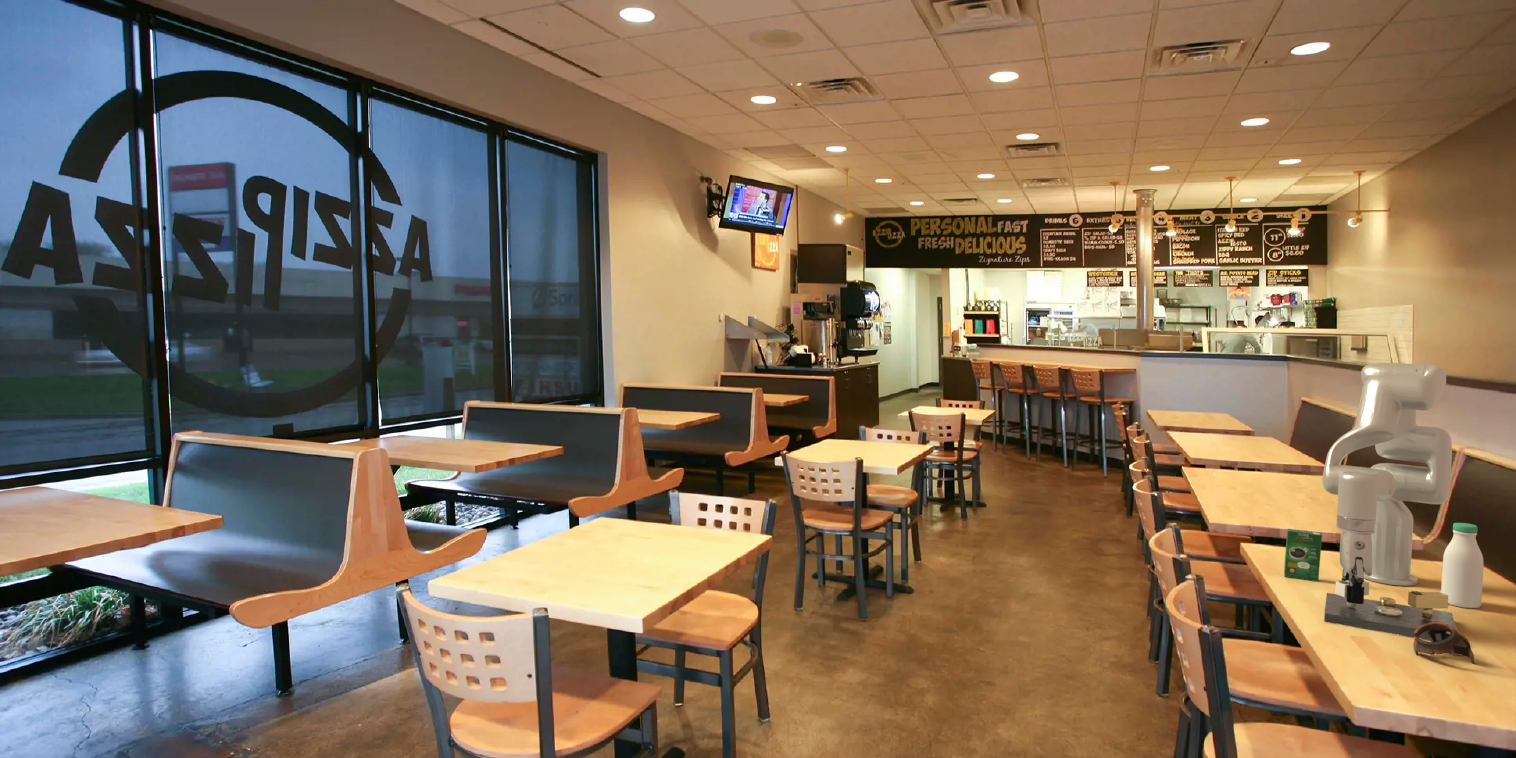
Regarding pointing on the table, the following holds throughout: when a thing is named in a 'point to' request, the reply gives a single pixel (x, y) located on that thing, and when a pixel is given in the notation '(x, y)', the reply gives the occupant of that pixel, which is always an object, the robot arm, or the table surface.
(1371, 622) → the levelling plate
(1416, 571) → the table surface
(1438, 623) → the brown curved hollow piece
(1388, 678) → the table surface
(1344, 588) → the white t-shaped handle
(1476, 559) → the milk bottle
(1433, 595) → the wooden bar knob
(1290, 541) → the coffee box
